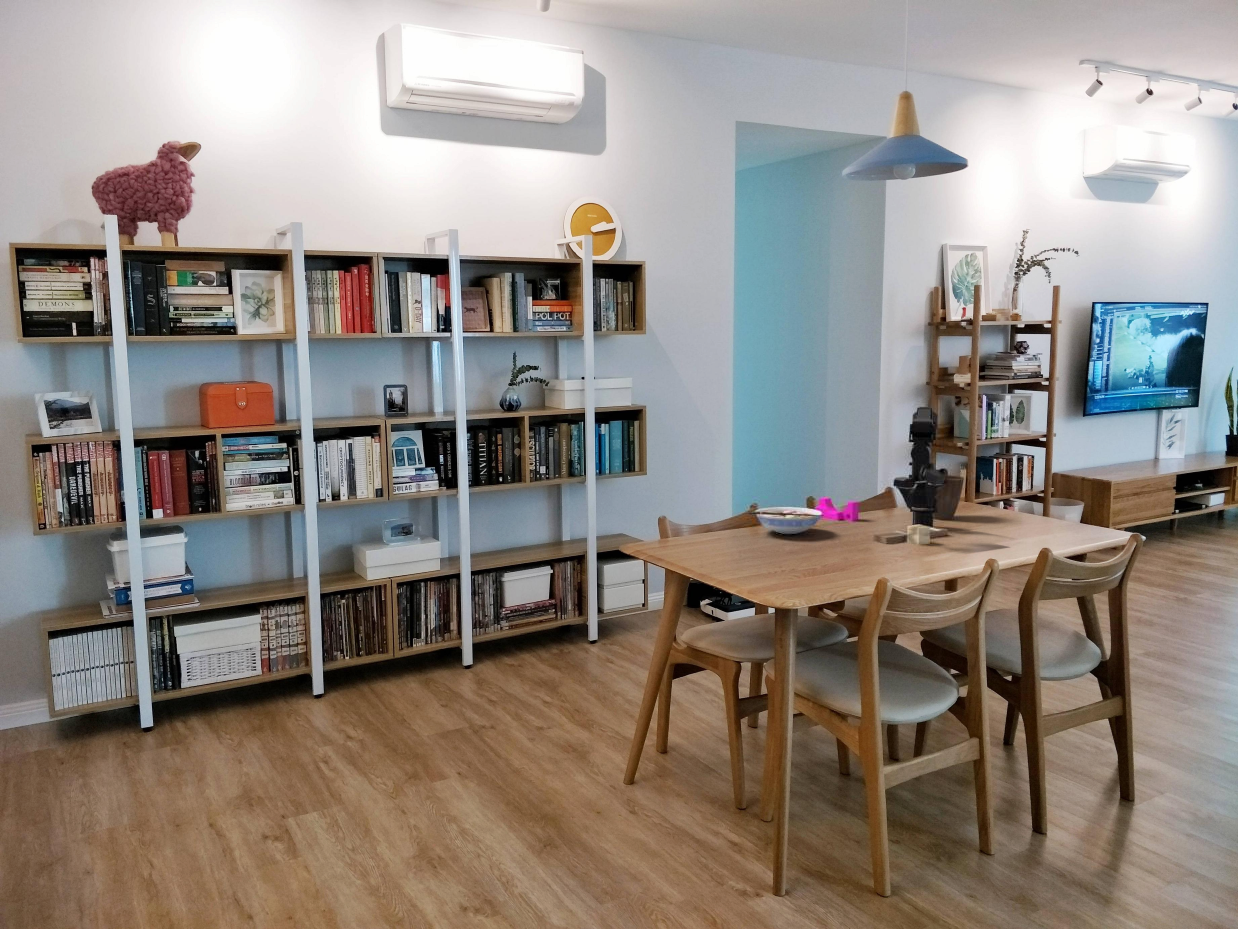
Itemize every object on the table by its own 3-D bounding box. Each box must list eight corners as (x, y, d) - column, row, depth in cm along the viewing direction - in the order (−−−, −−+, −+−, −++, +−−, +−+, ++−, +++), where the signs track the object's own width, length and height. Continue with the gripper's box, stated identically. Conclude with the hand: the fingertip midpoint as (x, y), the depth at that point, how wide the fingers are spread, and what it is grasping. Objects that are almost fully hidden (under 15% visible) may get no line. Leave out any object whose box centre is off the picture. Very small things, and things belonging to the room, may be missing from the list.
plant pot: (911, 517, 363) (913, 475, 361) (945, 515, 367) (947, 473, 365) (936, 524, 349) (937, 480, 347) (971, 522, 353) (972, 478, 351)
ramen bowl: (827, 528, 342) (827, 505, 341) (822, 541, 320) (823, 516, 319) (756, 526, 349) (756, 503, 348) (747, 537, 327) (747, 513, 326)
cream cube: (904, 541, 318) (904, 525, 317) (915, 540, 320) (915, 523, 320) (918, 545, 313) (919, 528, 312) (929, 543, 315) (930, 526, 314)
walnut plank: (872, 540, 320) (873, 534, 320) (934, 532, 334) (934, 526, 333) (886, 543, 315) (886, 537, 315) (947, 535, 328) (947, 528, 328)
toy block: (814, 518, 364) (814, 499, 363) (824, 516, 368) (825, 497, 367) (848, 523, 353) (848, 503, 352) (858, 521, 357) (858, 501, 356)
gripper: (919, 463, 301) (917, 513, 303) (961, 460, 310) (959, 508, 312) (892, 460, 311) (891, 508, 313) (934, 456, 320) (933, 503, 322)
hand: (919, 507), depth 315 cm, fingers open, 9 cm apart
